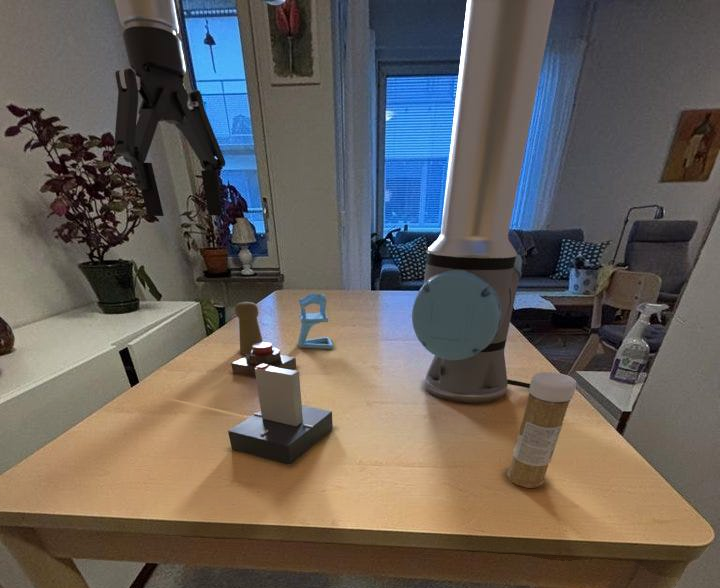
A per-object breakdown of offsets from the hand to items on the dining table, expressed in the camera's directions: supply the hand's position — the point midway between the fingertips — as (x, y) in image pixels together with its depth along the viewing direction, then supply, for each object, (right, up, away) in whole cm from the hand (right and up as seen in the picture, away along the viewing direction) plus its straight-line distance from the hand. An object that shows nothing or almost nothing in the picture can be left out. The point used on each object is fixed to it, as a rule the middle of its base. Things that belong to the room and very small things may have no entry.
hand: (188, 216), depth 67 cm
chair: (+18, -11, +33) cm, 39 cm away
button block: (+9, -21, +17) cm, 29 cm away
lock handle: (+18, -36, -10) cm, 42 cm away
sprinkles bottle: (+51, -45, -17) cm, 70 cm away
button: (+9, -19, +15) cm, 26 cm away
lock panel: (+18, -39, -8) cm, 44 cm away
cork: (+3, -14, +29) cm, 32 cm away
